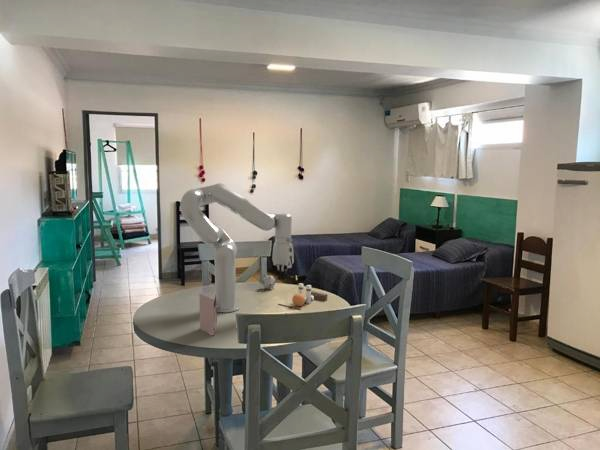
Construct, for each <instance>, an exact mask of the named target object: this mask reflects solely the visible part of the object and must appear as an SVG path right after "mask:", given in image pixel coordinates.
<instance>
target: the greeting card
mask: <svg viewBox="0 0 600 450" xmlns="http://www.w3.org/2000/svg"><path fill="white" fill-rule="evenodd" d="M216 297H217V296H216V294H215V293H214V297H213V298H211V297H209V296H206V295H204V294H203V293H199V297H198V298H199V330H201V329H202V330H201V331H203V330H204V331H206V332H208V333H210V334H212V335H214V336H215V334H214V333H216V330H217V322H218V321H217V320H218V312H217V309H216ZM215 329H216V330H215ZM204 331H203V332H204ZM206 332H205V333H206ZM208 333H207V334H208ZM210 334H209V335H210ZM212 335H211V336H212Z"/></svg>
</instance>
